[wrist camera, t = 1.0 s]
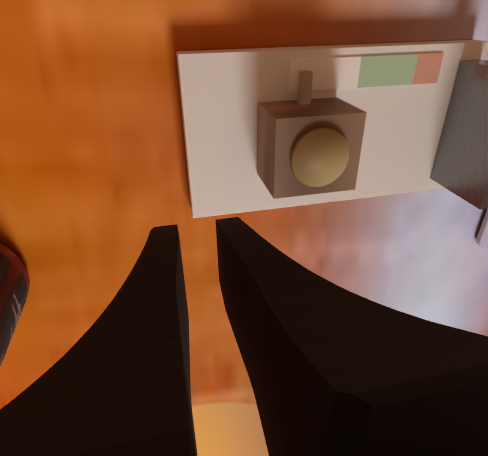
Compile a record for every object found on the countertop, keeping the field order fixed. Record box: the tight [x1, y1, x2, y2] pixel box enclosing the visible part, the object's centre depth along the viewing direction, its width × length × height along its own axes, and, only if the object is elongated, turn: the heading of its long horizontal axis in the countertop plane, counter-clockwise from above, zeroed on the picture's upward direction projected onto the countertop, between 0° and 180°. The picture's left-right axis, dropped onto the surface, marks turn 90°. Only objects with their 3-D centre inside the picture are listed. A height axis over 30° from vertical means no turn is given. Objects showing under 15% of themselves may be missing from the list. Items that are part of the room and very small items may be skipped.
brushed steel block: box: [430, 59, 488, 209], centre depth 19 cm, size 1×6×4 cm, turn 1°
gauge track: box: [176, 40, 488, 218], centre depth 20 cm, size 16×8×1 cm, turn 91°
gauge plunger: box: [257, 70, 367, 199], centre depth 18 cm, size 4×5×3 cm
